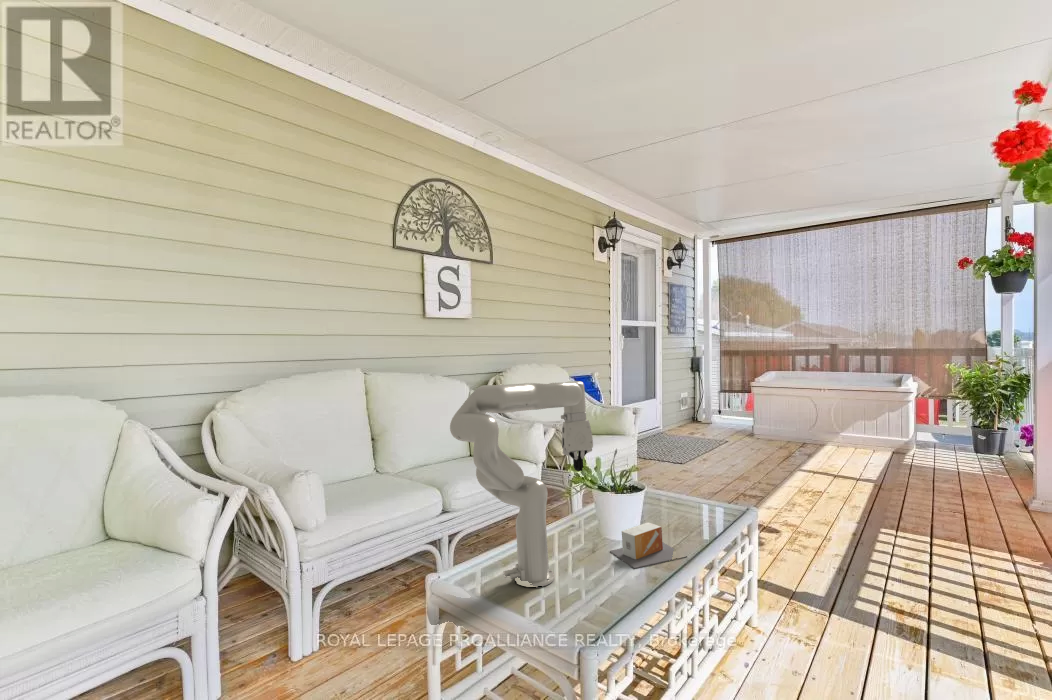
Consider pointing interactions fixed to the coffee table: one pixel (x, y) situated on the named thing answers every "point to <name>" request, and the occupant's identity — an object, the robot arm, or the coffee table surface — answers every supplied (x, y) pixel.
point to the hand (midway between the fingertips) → (578, 470)
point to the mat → (646, 557)
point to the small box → (642, 540)
